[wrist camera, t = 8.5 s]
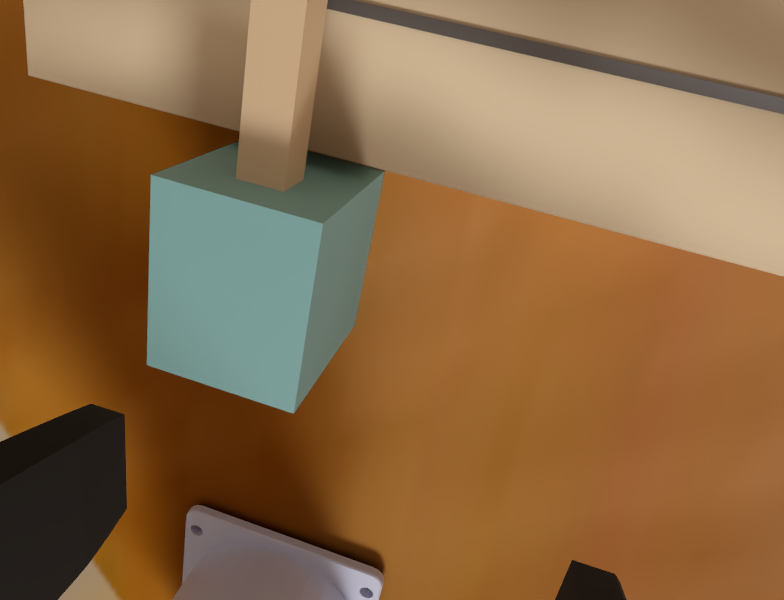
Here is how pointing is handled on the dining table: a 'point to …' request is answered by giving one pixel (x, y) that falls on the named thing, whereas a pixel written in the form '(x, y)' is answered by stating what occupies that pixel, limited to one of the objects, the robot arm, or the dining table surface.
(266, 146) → the tan post teal base
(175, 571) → the dining table surface
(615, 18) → the board
